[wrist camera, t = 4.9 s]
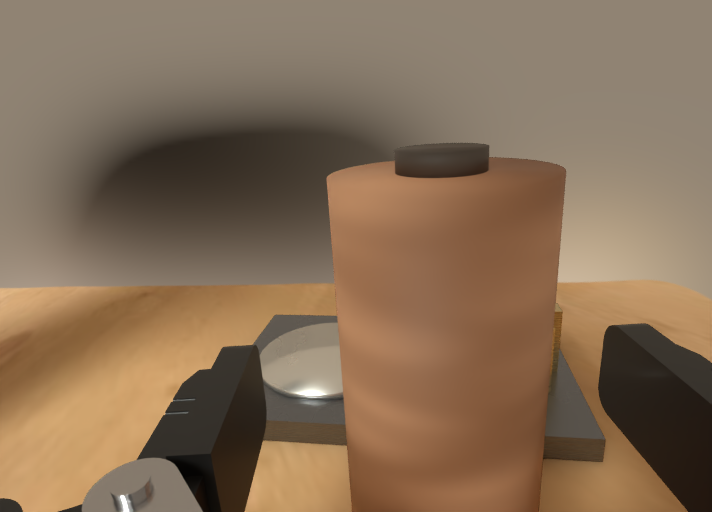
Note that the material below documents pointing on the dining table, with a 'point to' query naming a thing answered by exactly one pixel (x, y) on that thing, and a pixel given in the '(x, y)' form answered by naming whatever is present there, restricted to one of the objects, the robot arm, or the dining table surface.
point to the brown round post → (446, 326)
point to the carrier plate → (326, 403)
